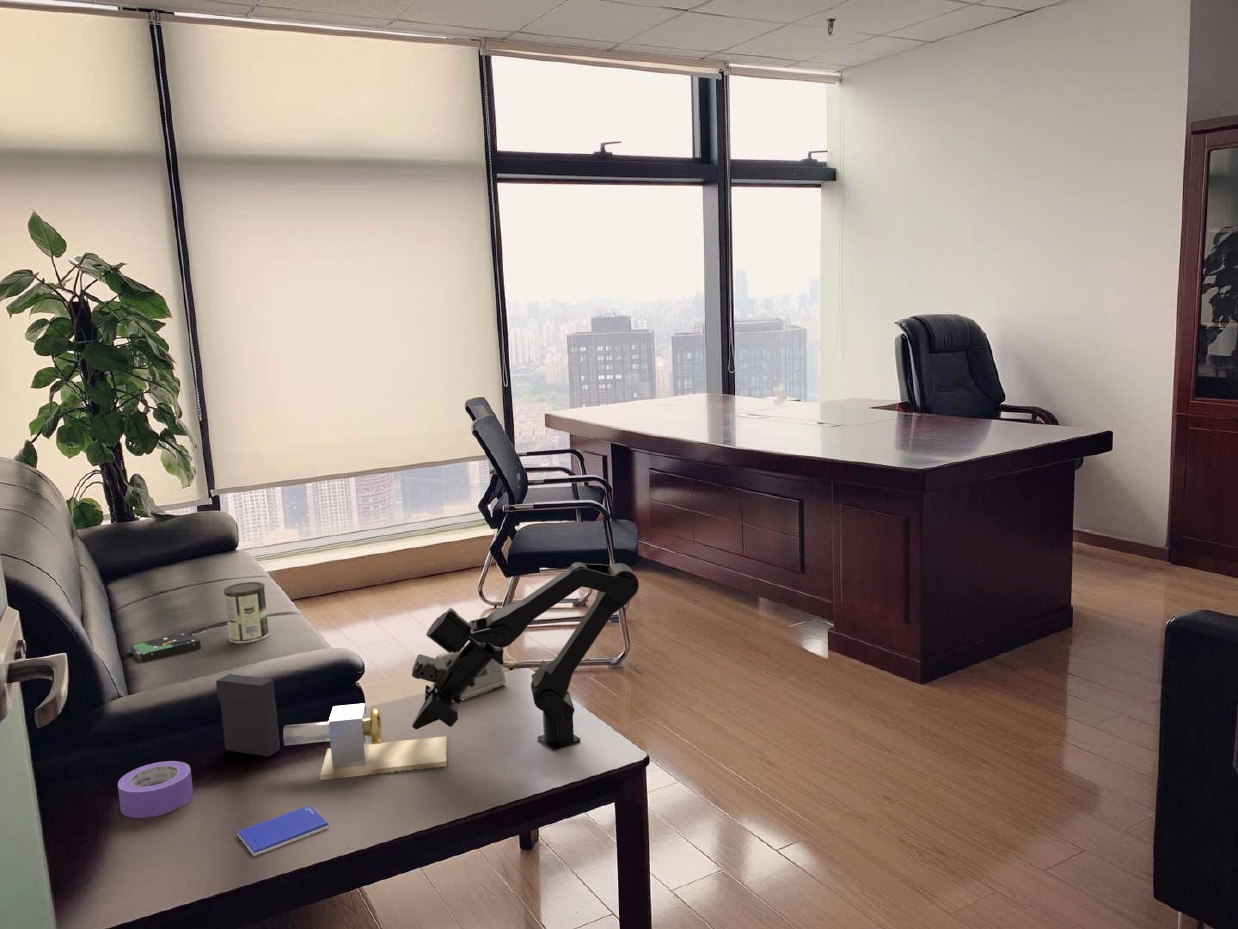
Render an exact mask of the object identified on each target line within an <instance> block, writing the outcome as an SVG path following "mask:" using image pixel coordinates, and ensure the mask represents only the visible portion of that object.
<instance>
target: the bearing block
mask: <svg viewBox="0 0 1238 929" xmlns="http://www.w3.org/2000/svg"><path fill="white" fill-rule="evenodd" d="M364 718H367V709H366V703H354V704H345V705H335V706H332V710H331V713H330V716H329V718H328V719H329V720H328V721H329V732H330V741H329V743H330V748H331V755H332V767H333V769H336V768H345V767H354V766H363V765H366V760H367V755H368V750H369V747H368V744H369V737H364V729H363V719H364Z"/></svg>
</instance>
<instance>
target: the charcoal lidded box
mask: <svg viewBox="0 0 1238 929" xmlns="http://www.w3.org/2000/svg"><path fill="white" fill-rule="evenodd" d="M215 684H216V685H215V686H216V691H217V692H216V693H217V694H216V695H217V696H216V697H217V699H218V700H219V702H220V710H221V719H222V729H223V739H224V748H225V750H226V751H230V752H234V753H235V752H236V753H243V754H250V755H255V756H256V755H257V756H263V757H271V756H273V755H275V754H276V753H277V752H278V751H280V748H281V747H280V737H279V727H278V726H279V725H278V717H277V707H276V706H277V704H276V698H275V697H276V696H275V686H274V685H275V684H274V680H273V679H272V678H267V677H258V676H250V675H249V676H247V675H241V674H232V673H229V674H227V675H225V676H223V677H221V678H219V679H217V680H216V681H215Z"/></svg>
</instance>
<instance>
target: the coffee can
mask: <svg viewBox="0 0 1238 929" xmlns="http://www.w3.org/2000/svg"><path fill="white" fill-rule="evenodd" d="M265 586H266V585H265V584H264V583H263V582H259V581H247V582H246V581H245V582H239V583H235V584H231V585H228V586H227V587H225V588H223V590H222V591H223V593H224V602H225V611H226V613H225V614H226V619H227V620H226V621H227V630H228V641H229V642H230V643H232V642H233V643H232V644H251V643H256V642H258V641H262V640H264V639H266V638H268V637H269V635H270V632H269V623H268V613H267V612H268V611H267V604H266V603H267V602H266V593H265ZM255 641H256V642H255ZM250 642H251V643H250Z"/></svg>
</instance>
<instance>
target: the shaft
mask: <svg viewBox="0 0 1238 929" xmlns="http://www.w3.org/2000/svg"><path fill="white" fill-rule="evenodd" d="M381 709H382V708H380V707H379V708H371V709H370V716H369V717H367V716H366V718H364V719H363V729H364V737H368V738H369V737H370V738H371V739H370V740H371V744H382V743H383V717H382V716H383V715H382V710H381ZM282 740H283V744H284V746H292V745H303V744H304V745H305V744H312V743H313V744H314V743H320V742H330V732H329V720H327V721H319V722H310V723H309V722H308V723H300V724H299V723H298V724H289V725H287V724H286V725H284V726H283V733H282Z"/></svg>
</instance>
